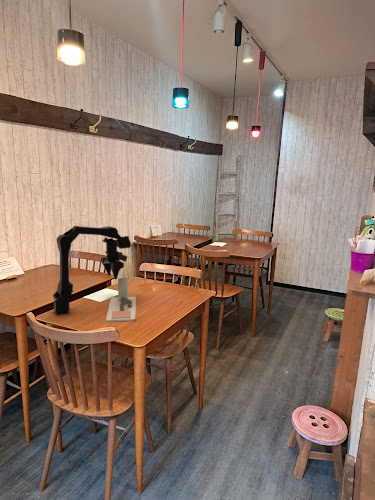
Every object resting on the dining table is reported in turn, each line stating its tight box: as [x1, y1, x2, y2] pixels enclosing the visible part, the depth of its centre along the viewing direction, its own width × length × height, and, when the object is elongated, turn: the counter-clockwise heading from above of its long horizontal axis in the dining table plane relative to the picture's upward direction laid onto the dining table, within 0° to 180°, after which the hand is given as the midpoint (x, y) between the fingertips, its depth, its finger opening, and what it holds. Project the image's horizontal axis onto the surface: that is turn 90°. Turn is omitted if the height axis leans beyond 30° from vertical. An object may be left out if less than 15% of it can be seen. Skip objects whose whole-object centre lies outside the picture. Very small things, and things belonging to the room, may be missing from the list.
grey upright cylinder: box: [117, 277, 129, 302], centre depth 191 cm, size 5×5×12 cm
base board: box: [105, 296, 137, 323], centre depth 181 cm, size 34×14×1 cm, turn 8°
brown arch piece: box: [120, 297, 132, 311], centre depth 182 cm, size 8×11×4 cm
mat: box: [111, 311, 131, 319], centre depth 170 cm, size 9×9×1 cm
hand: (112, 277), depth 189 cm, fingers open, 9 cm apart
